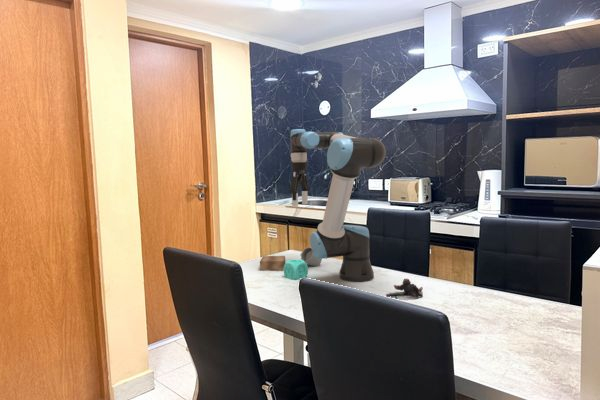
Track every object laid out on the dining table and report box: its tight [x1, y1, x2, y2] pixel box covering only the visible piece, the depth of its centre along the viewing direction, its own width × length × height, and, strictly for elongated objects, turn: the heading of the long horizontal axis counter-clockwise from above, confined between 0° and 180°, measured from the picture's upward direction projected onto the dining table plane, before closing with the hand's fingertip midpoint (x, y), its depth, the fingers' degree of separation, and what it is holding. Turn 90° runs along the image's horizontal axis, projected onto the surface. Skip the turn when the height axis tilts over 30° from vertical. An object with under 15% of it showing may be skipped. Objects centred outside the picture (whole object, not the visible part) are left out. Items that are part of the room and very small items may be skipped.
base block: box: [259, 255, 286, 272], centre depth 207 cm, size 11×11×6 cm
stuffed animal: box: [385, 278, 424, 301], centre depth 164 cm, size 12×10×12 cm
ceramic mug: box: [299, 246, 323, 267], centre depth 212 cm, size 11×8×8 cm
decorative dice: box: [282, 258, 309, 281], centre depth 191 cm, size 8×8×8 cm
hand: (300, 205), depth 208 cm, fingers open, 13 cm apart
